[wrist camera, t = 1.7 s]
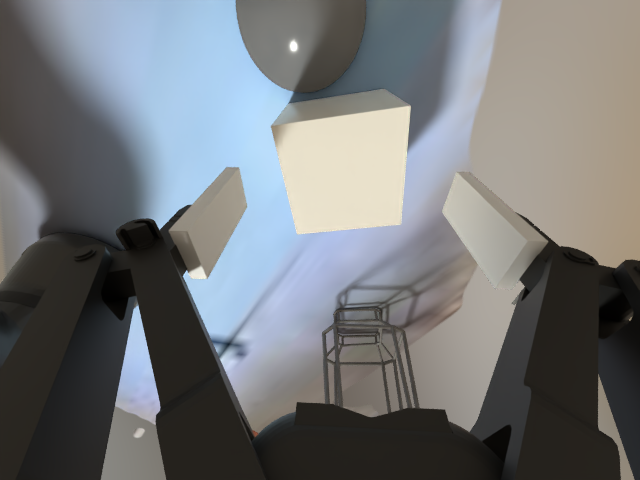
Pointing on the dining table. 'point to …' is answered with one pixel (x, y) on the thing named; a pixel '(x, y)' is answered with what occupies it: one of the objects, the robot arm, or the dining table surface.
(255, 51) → the coaster
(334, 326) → the geometric lantern
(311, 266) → the dining table surface
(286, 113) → the cream cube
